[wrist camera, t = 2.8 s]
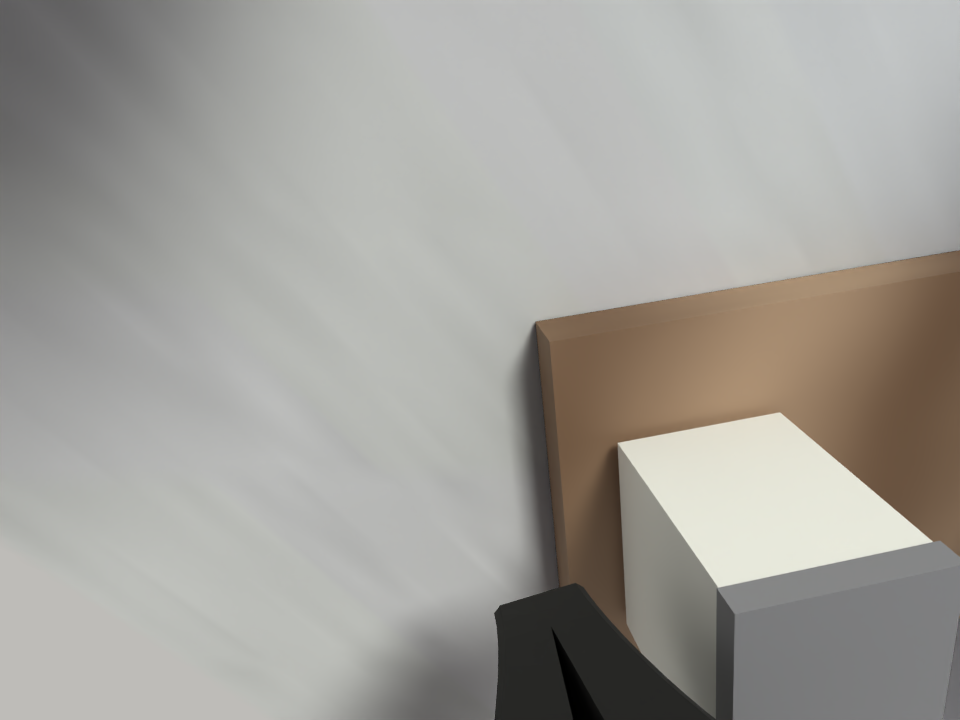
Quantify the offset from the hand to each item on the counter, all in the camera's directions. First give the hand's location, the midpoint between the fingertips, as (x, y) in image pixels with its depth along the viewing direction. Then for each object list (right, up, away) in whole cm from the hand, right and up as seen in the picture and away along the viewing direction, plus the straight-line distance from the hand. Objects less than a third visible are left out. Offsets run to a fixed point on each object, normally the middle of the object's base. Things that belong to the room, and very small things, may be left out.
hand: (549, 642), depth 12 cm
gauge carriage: (+3, +1, +3) cm, 4 cm away
